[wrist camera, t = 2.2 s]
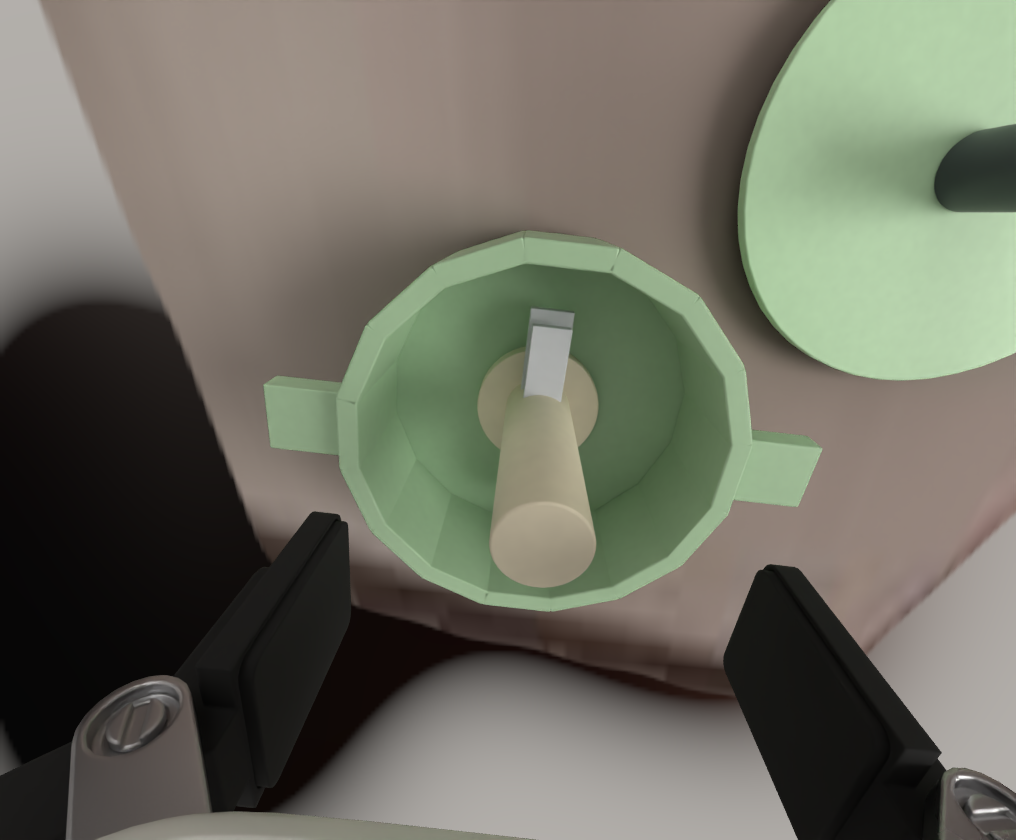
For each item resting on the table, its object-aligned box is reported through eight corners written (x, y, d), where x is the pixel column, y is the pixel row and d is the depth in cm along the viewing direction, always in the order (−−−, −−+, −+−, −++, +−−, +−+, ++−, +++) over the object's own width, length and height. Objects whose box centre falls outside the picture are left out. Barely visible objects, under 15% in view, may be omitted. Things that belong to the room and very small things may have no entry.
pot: (312, 204, 18) (226, 201, 13) (806, 261, 18) (916, 281, 13) (330, 501, 23) (275, 581, 18) (707, 543, 23) (756, 636, 18)
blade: (487, 295, 18) (448, 370, 10) (614, 309, 18) (691, 398, 10) (471, 479, 22) (432, 657, 13) (579, 491, 22) (611, 678, 13)
